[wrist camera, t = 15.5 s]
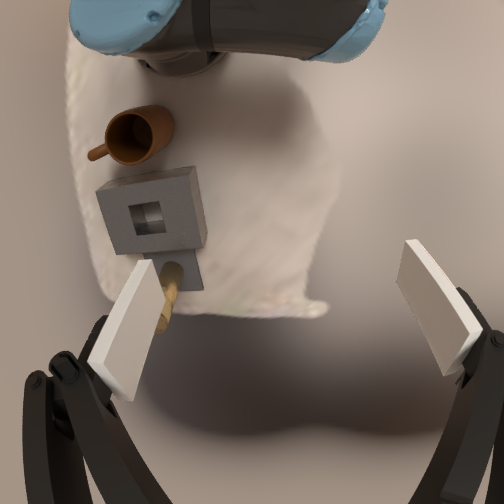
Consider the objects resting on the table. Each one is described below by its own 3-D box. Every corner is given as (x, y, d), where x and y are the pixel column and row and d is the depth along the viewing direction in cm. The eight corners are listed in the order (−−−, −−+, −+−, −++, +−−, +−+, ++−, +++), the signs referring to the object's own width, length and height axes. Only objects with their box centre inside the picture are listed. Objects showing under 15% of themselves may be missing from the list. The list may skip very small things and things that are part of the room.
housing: (108, 181, 44) (95, 191, 39) (195, 165, 43) (188, 175, 38) (126, 240, 50) (116, 255, 46) (207, 232, 49) (202, 247, 45)
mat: (143, 248, 51) (141, 250, 50) (193, 244, 50) (192, 246, 50) (157, 289, 56) (156, 292, 56) (203, 287, 56) (203, 290, 55)
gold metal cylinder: (159, 262, 51) (135, 314, 40) (180, 260, 51) (161, 314, 39) (165, 280, 54) (145, 334, 42) (186, 279, 54) (170, 334, 42)
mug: (118, 166, 42) (91, 185, 34) (103, 126, 38) (72, 137, 30) (182, 141, 41) (164, 155, 33) (167, 97, 37) (144, 100, 29)
